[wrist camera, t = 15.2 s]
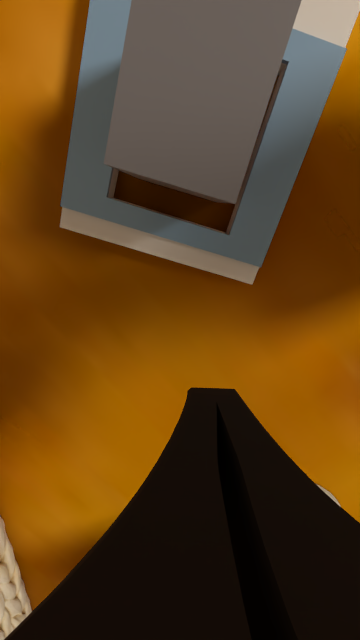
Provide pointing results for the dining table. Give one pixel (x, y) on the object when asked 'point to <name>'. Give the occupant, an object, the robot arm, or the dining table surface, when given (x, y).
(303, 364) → the dining table surface
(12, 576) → the storage basket
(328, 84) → the two-tone slotted frame
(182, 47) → the plug
